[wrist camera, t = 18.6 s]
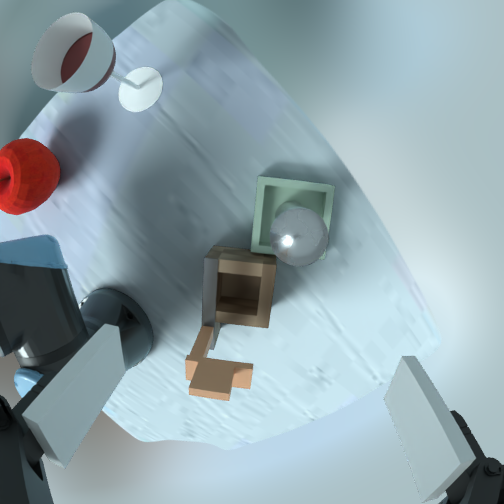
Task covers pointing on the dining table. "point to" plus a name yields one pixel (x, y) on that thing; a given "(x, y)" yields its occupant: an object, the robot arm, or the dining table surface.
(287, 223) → the pin
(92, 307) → the robot arm
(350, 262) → the dining table surface
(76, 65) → the wineglass
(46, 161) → the apple
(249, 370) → the keeper
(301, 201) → the dish
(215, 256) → the block
